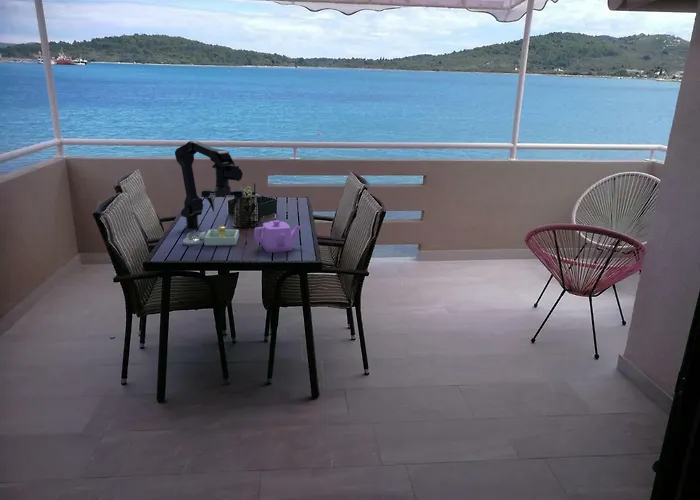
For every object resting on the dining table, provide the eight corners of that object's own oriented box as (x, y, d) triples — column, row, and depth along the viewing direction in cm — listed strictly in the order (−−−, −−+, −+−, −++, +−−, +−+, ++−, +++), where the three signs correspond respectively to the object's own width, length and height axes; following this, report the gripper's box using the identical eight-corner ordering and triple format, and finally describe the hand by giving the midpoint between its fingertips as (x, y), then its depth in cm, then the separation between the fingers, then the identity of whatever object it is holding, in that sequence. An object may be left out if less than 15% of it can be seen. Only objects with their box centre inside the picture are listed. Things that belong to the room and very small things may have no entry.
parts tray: (209, 236, 236) (209, 229, 235) (239, 236, 237) (238, 229, 236) (204, 245, 223) (204, 237, 222) (235, 245, 224) (235, 237, 223)
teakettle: (270, 240, 234) (270, 214, 230) (302, 245, 228) (302, 219, 224) (250, 250, 219) (249, 222, 215) (283, 255, 213) (283, 227, 209)
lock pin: (218, 238, 231) (217, 225, 230) (227, 238, 232) (226, 226, 230) (217, 240, 228) (216, 228, 226) (226, 240, 228) (225, 228, 226)
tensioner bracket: (189, 234, 238) (189, 229, 237) (205, 234, 238) (205, 229, 238) (181, 245, 221) (180, 240, 220) (198, 245, 222) (198, 240, 221)
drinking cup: (248, 222, 263) (247, 184, 257) (247, 219, 270) (246, 182, 264) (263, 222, 265) (262, 184, 259) (262, 218, 272) (261, 182, 266)
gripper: (198, 181, 221) (200, 215, 226) (240, 181, 223) (241, 215, 228) (202, 176, 232) (204, 209, 237) (243, 177, 234) (244, 210, 239)
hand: (223, 211), depth 235 cm, fingers open, 9 cm apart
